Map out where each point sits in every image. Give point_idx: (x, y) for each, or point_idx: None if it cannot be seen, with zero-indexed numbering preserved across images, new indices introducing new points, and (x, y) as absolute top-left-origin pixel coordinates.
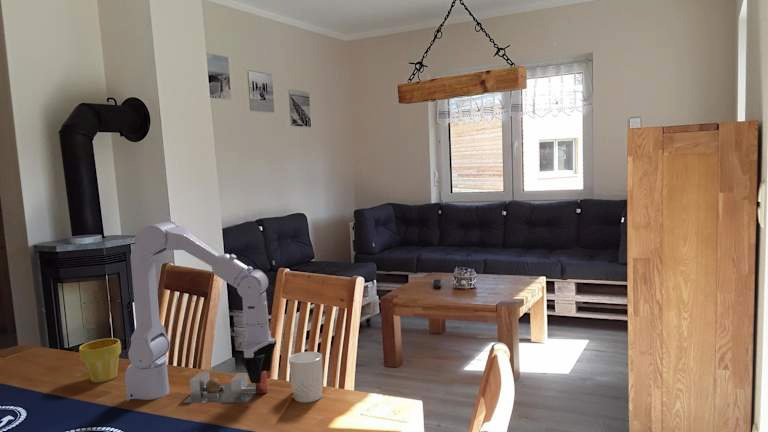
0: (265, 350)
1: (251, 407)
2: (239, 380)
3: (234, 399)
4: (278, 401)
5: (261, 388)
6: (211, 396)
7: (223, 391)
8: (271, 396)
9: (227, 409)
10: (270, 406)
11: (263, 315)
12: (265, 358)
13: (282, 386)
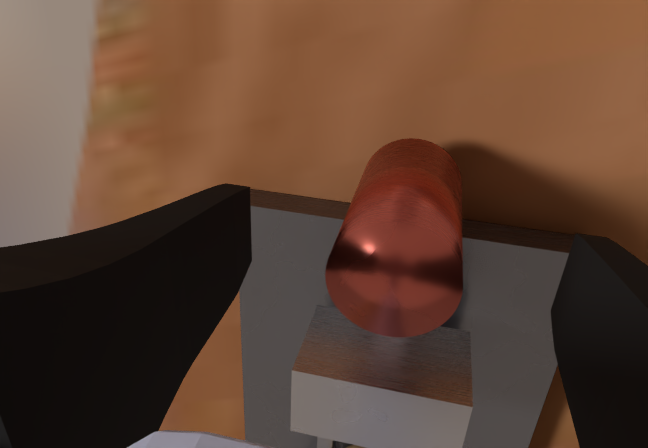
0: (112, 368)
1: (600, 213)
2: (469, 411)
3: (512, 348)
4: (529, 8)
5: (460, 196)
6: None
7: None
8: (402, 96)
9: None
10: (631, 61)
11: None
12: (178, 296)
13: (202, 44)
